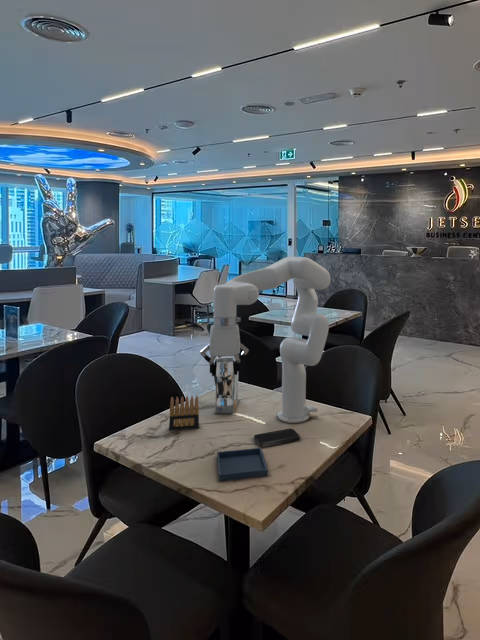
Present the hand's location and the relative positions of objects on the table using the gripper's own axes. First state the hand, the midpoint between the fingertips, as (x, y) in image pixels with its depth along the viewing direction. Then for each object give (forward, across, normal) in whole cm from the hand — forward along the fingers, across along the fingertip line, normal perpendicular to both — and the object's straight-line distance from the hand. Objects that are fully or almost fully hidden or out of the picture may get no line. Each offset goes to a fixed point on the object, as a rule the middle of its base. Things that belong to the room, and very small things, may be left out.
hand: (224, 373), depth 147 cm
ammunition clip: (+25, +13, -19) cm, 34 cm away
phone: (+25, -19, -3) cm, 32 cm away
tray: (+25, -4, +13) cm, 29 cm away
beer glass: (+10, 0, 0) cm, 10 cm away
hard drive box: (+25, -4, -37) cm, 45 cm away
